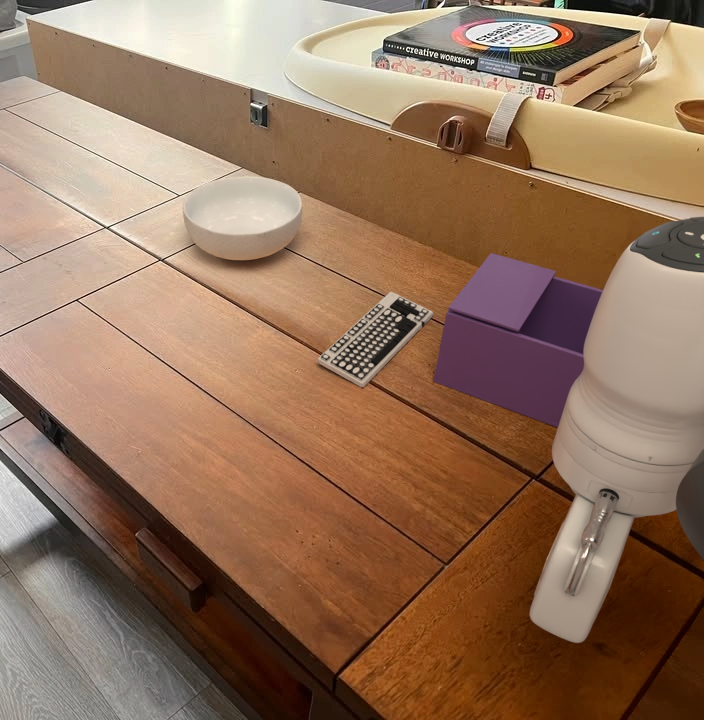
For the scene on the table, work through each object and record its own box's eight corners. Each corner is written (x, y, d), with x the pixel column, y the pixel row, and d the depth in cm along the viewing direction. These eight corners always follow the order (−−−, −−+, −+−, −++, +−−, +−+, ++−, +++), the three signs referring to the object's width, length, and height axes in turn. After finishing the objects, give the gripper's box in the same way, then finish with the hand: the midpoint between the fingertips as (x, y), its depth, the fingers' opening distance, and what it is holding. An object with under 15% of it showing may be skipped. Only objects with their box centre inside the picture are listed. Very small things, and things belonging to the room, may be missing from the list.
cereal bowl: (187, 219, 116) (185, 176, 112) (296, 216, 116) (298, 173, 112) (182, 279, 103) (179, 233, 99) (305, 277, 103) (307, 231, 98)
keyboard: (363, 388, 85) (364, 377, 84) (316, 367, 88) (316, 356, 87) (433, 316, 95) (435, 306, 94) (388, 299, 98) (390, 289, 97)
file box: (602, 365, 87) (629, 291, 80) (570, 432, 79) (598, 355, 72) (474, 324, 94) (490, 252, 87) (433, 381, 85) (447, 307, 79)
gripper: (643, 582, 42) (582, 706, 51) (707, 381, 55) (649, 507, 64) (529, 533, 45) (489, 658, 54) (615, 353, 58) (571, 477, 67)
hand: (576, 575), depth 59 cm, fingers closed on block, 4 cm apart
